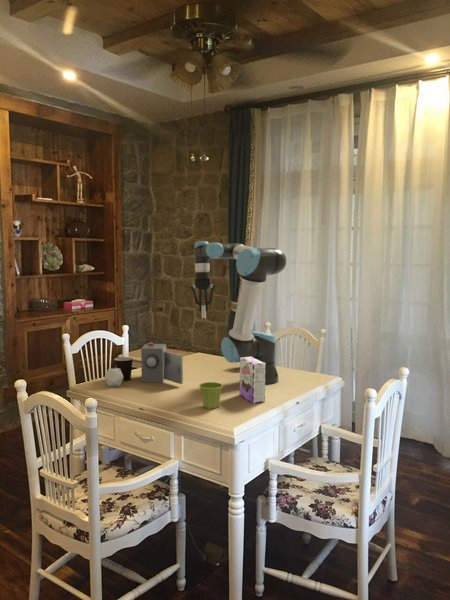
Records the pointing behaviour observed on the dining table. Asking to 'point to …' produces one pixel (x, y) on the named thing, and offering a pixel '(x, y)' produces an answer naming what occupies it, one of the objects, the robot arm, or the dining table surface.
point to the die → (114, 377)
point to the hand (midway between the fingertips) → (203, 318)
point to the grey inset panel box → (152, 362)
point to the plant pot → (211, 394)
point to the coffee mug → (124, 366)
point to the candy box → (252, 379)
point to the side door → (173, 367)
